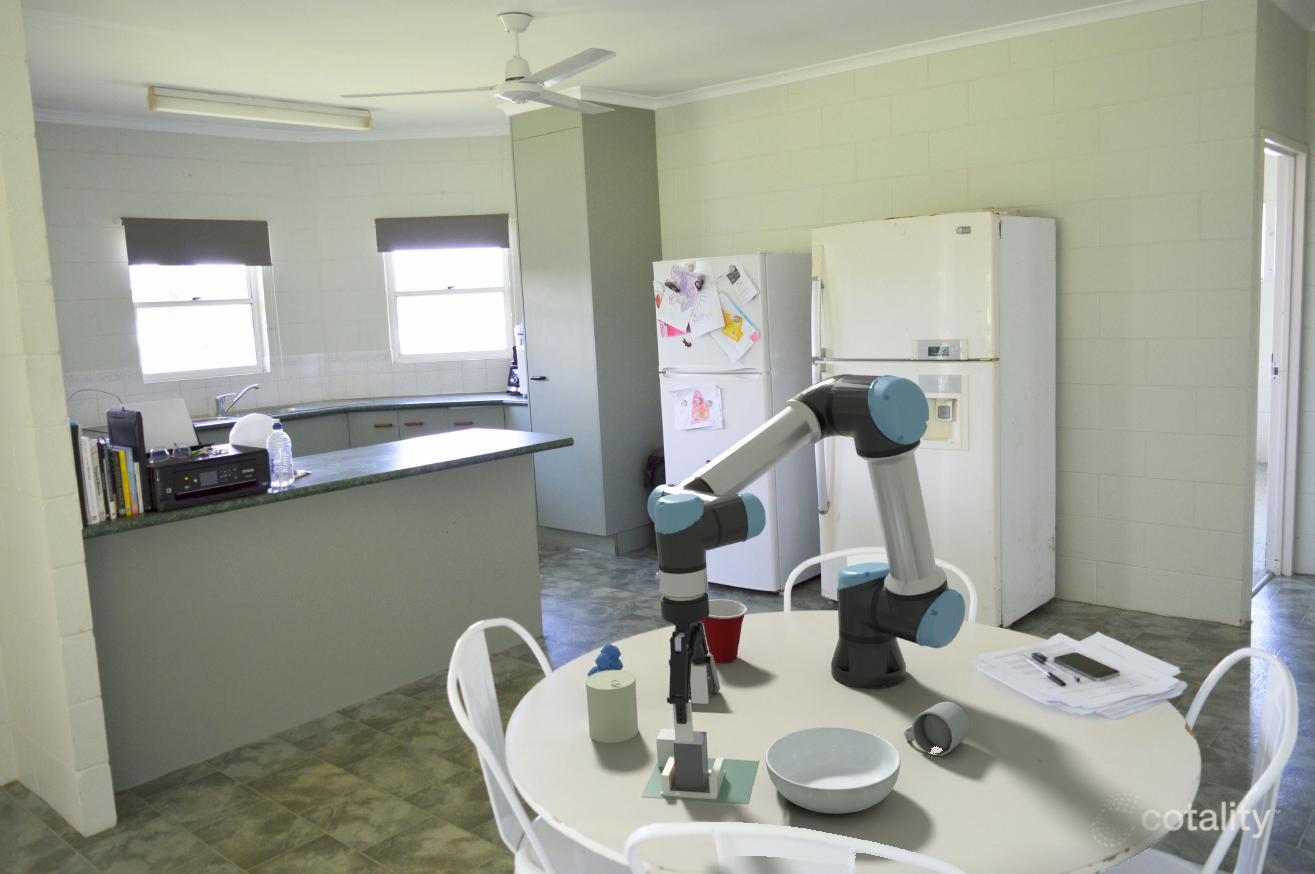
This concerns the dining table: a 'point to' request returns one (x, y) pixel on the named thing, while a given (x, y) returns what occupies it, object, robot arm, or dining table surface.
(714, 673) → the electrical switch
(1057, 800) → the dining table surface
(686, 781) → the plug
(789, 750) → the serving bowl
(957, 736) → the ceramic mug
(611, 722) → the can
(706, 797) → the board
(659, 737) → the plug
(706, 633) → the plastic cup
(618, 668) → the grapes
